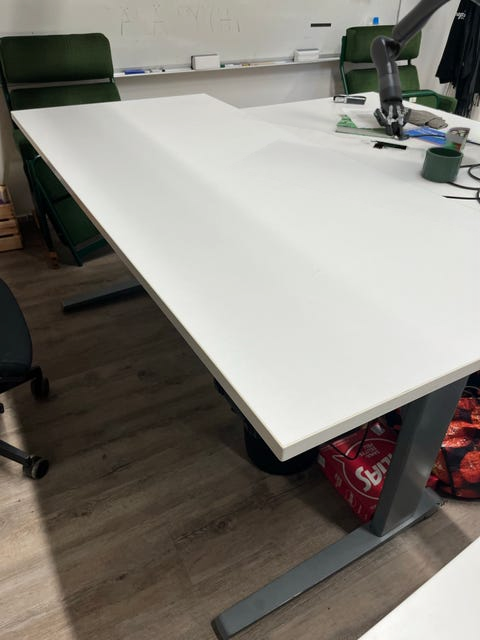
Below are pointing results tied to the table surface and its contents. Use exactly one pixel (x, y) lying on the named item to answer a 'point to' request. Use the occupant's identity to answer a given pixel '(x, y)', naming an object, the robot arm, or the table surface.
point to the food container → (457, 138)
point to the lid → (395, 131)
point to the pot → (441, 164)
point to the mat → (386, 146)
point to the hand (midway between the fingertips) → (395, 136)
